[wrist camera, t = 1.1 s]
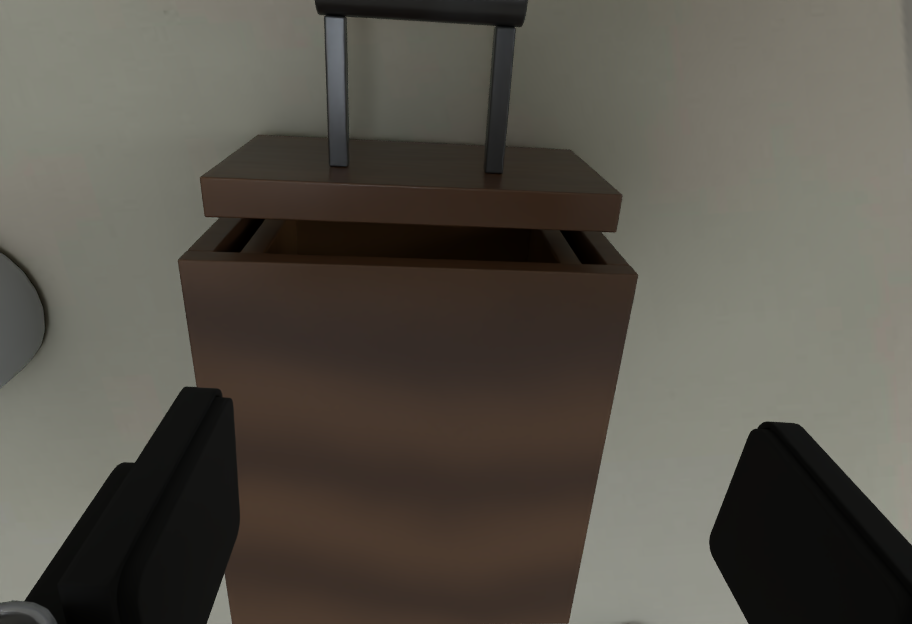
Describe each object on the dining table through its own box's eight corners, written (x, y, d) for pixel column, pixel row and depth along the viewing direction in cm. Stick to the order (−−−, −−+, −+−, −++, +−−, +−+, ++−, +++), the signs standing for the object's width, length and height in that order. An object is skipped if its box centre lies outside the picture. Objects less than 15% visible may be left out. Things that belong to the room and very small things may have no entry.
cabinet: (252, 184, 25) (177, 259, 17) (573, 197, 26) (639, 274, 18) (278, 477, 32) (232, 627, 24) (533, 479, 33) (568, 624, 25)
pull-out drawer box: (243, -39, 21) (168, -63, 15) (593, -15, 22) (662, -28, 16) (282, 437, 30) (245, 549, 24) (531, 440, 31) (560, 548, 25)
